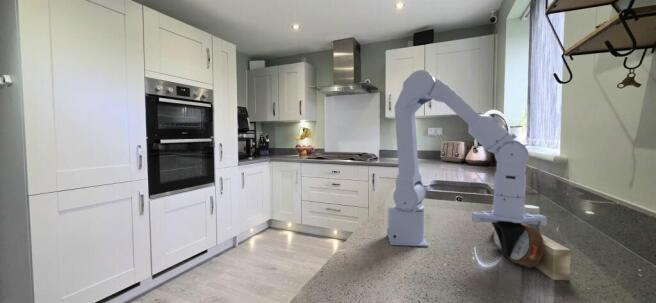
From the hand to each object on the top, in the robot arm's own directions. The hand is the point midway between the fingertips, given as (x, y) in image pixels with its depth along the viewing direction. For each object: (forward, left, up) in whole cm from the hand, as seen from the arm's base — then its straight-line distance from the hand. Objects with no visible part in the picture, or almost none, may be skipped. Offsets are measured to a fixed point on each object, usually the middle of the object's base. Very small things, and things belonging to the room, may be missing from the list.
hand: (506, 254), depth 59 cm
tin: (+1, +2, -1) cm, 2 cm away
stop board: (+6, +5, -1) cm, 8 cm away
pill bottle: (+15, +17, -2) cm, 22 cm away
